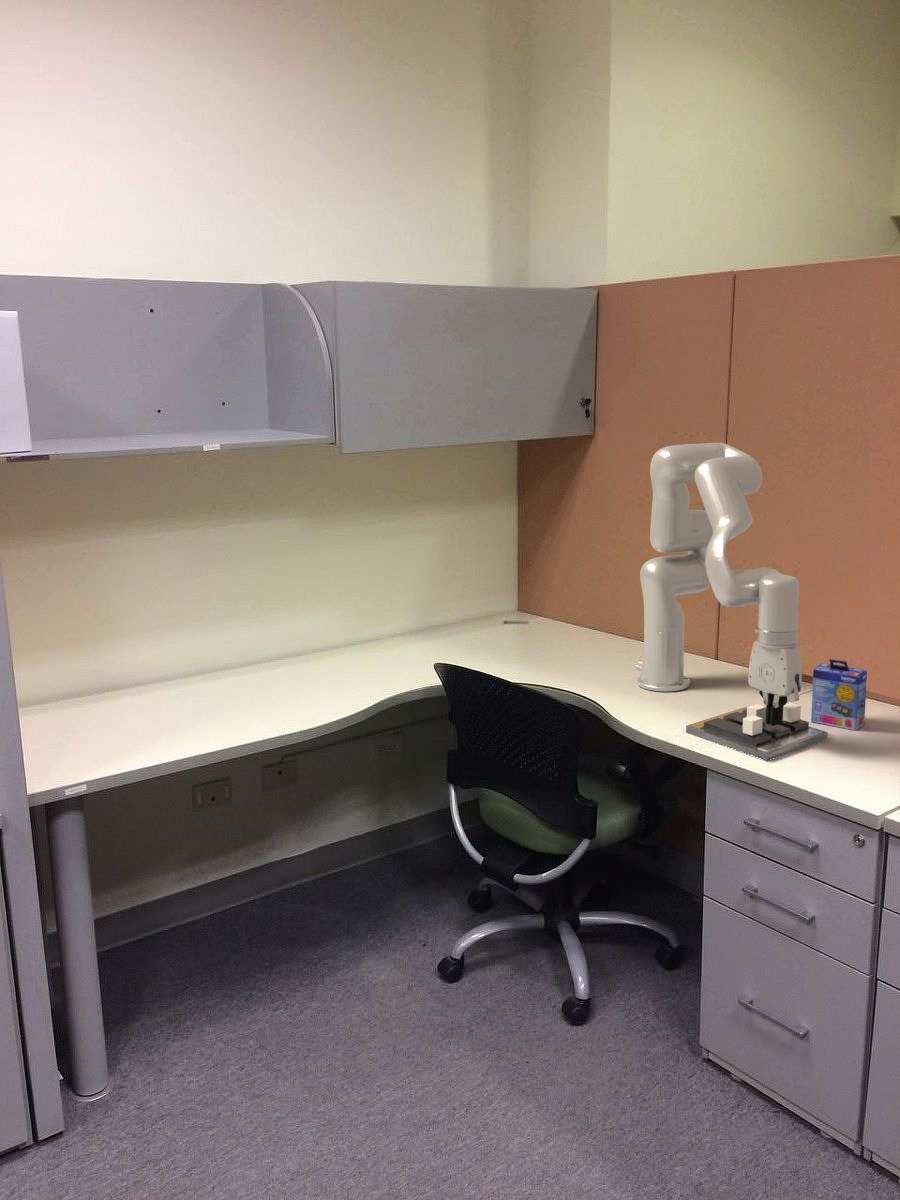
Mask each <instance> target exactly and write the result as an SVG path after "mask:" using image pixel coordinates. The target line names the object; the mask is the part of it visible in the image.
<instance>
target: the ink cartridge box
mask: <svg viewBox="0 0 900 1200" xmlns="http://www.w3.org/2000/svg"><path fill="white" fill-rule="evenodd" d="M840 664H841V665H840ZM812 672H813V673H812V695H811V697H812V698H811V715H810V717H811V719H810V722H811V723H814V722H815V723H816V724H819V725H824V724H825V725H826V726H829V727H830V726H831V727H835V728H840V729H845V730H848V731H849V730H851V731H858V730H859V729H860V728H861V727H863V726H864V725H865V724H866V723H865V719H866V718H865V717H866V700H867V699H866V697H867V696H866V695H867V682H868V681H867V680H868V679H867V677H868V671H867V669H863V668H855V667H850V666H849V665H848V663H847V661H845V660H837V659H831V658H830V659H829V663H819V665H817V666H816V667H814V668H813V670H812ZM815 723H814V724H815ZM825 725H824V726H825Z"/></svg>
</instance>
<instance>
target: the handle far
mask: <svg viewBox="0 0 900 1200" xmlns="http://www.w3.org/2000/svg"><path fill="white" fill-rule="evenodd" d="M801 707H802V705H800V704H796V703H795V702H788V703H786V705H784V706H783V720H784V721H788V722H794V721H797V720H800V719H801V712H802V711H801V709H802V708H801Z"/></svg>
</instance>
